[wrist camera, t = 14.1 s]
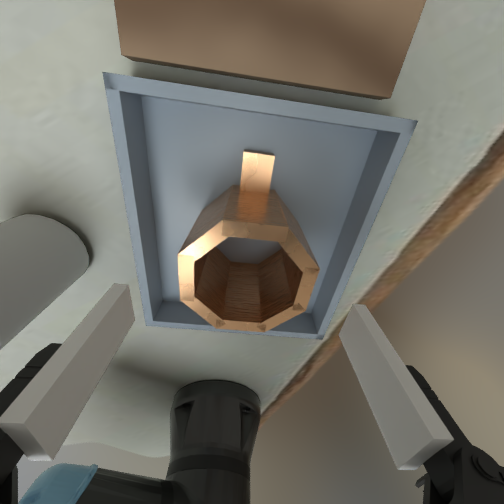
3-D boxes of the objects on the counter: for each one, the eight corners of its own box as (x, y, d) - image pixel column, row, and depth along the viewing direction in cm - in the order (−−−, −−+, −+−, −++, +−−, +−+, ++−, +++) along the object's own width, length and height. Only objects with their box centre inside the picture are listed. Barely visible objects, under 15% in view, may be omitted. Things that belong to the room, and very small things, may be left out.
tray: (314, 316, 28) (322, 339, 25) (157, 302, 27) (146, 325, 24) (388, 120, 17) (418, 120, 14) (130, 81, 16) (102, 71, 13)
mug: (284, 274, 24) (297, 335, 17) (201, 266, 24) (181, 325, 17) (312, 159, 18) (350, 181, 11) (202, 143, 18) (171, 158, 11)
